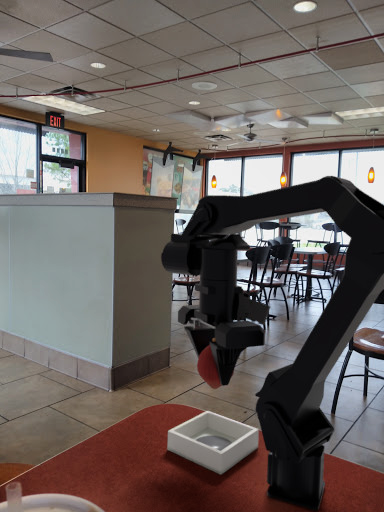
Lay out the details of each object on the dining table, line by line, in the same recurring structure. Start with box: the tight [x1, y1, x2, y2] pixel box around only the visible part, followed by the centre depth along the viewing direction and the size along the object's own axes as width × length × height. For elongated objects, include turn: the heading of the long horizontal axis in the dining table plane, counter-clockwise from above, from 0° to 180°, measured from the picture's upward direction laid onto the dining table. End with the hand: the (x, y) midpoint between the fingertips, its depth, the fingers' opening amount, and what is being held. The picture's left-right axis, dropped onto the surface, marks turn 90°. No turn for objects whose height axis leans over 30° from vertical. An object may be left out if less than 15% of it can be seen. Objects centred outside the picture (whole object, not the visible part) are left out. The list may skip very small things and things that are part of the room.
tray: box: [166, 410, 259, 476], centre depth 66 cm, size 10×10×3 cm
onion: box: [196, 338, 235, 390], centre depth 65 cm, size 6×6×8 cm
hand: (215, 378), depth 66 cm, fingers closed on onion, 6 cm apart
